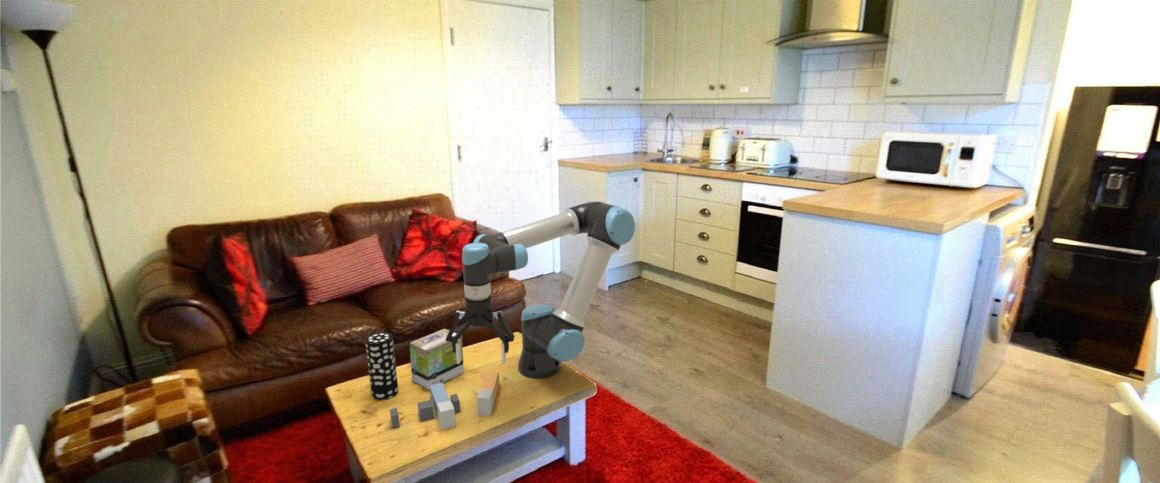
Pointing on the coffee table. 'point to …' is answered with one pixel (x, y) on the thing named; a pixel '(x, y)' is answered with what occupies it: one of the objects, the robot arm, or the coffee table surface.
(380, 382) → the spotted tube
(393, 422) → the grey blocks
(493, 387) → the white-capped orange post
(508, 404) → the coffee table surface
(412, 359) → the tea box
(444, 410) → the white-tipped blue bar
